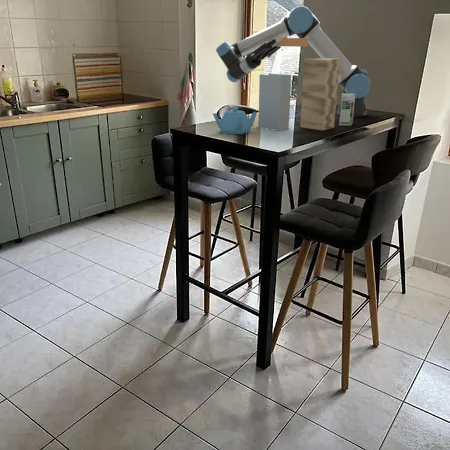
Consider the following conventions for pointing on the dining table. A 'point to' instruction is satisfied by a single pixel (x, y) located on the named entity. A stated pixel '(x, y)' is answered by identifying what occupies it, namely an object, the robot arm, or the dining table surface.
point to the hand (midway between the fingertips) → (284, 36)
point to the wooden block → (319, 93)
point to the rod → (292, 42)
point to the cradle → (274, 101)
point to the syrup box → (347, 109)
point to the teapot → (235, 121)
